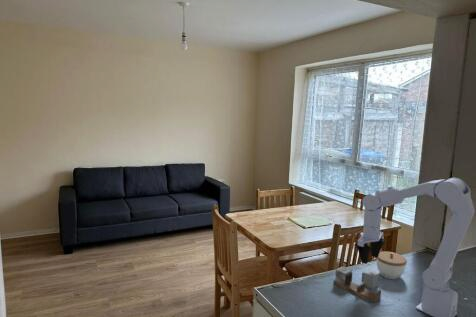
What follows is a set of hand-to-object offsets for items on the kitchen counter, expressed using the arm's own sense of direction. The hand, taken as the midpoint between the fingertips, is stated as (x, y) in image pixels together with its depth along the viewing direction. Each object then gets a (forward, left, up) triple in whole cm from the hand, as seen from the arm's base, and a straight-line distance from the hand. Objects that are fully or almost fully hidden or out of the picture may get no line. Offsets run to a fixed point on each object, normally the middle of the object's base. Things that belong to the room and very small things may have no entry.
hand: (369, 259), depth 120 cm
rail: (0, +8, -9) cm, 13 cm away
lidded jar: (-2, -12, -10) cm, 16 cm away
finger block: (-1, +1, -10) cm, 10 cm away
